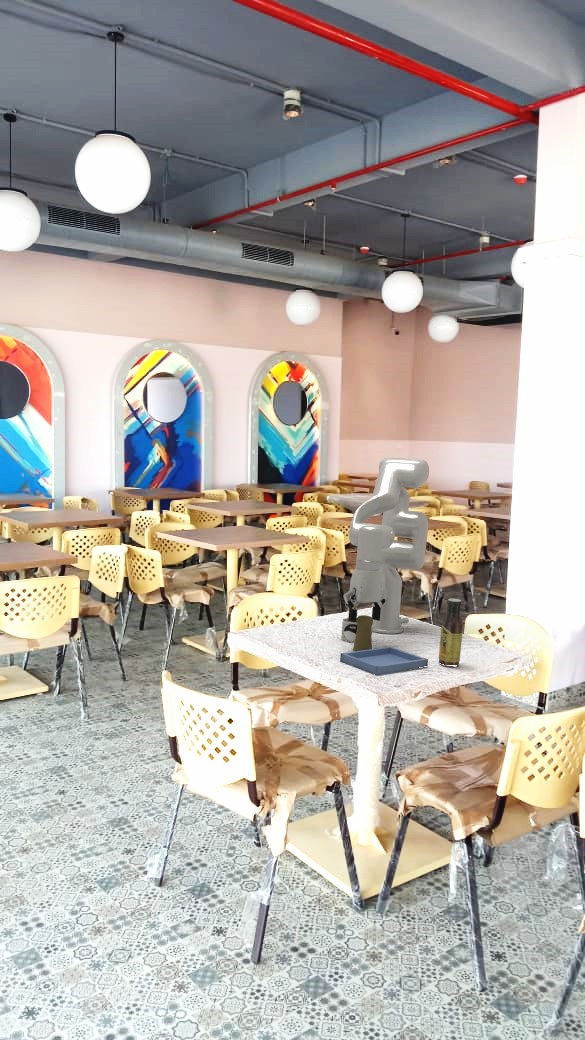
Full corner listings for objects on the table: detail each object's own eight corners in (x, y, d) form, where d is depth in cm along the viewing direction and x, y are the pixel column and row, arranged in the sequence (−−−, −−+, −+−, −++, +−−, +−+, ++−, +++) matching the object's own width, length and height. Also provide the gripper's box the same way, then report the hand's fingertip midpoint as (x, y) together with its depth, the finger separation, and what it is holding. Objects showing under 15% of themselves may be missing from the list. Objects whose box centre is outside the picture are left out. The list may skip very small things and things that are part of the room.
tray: (389, 654, 253) (390, 646, 253) (427, 667, 240) (428, 659, 240) (340, 661, 241) (340, 653, 241) (376, 675, 228) (377, 667, 228)
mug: (342, 642, 265) (343, 622, 264) (340, 637, 272) (341, 617, 271) (372, 644, 265) (374, 623, 265) (370, 639, 272) (371, 619, 271)
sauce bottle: (436, 661, 247) (441, 596, 246) (457, 663, 247) (462, 598, 245) (440, 667, 241) (445, 600, 239) (461, 668, 241) (466, 602, 239)
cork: (372, 649, 258) (374, 614, 257) (372, 653, 252) (374, 618, 251) (353, 647, 259) (355, 613, 258) (352, 652, 253) (355, 617, 252)
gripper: (380, 563, 261) (376, 617, 262) (339, 564, 251) (334, 620, 252) (397, 567, 255) (392, 621, 256) (355, 568, 245) (350, 624, 246)
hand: (364, 620), depth 254 cm, fingers open, 9 cm apart
